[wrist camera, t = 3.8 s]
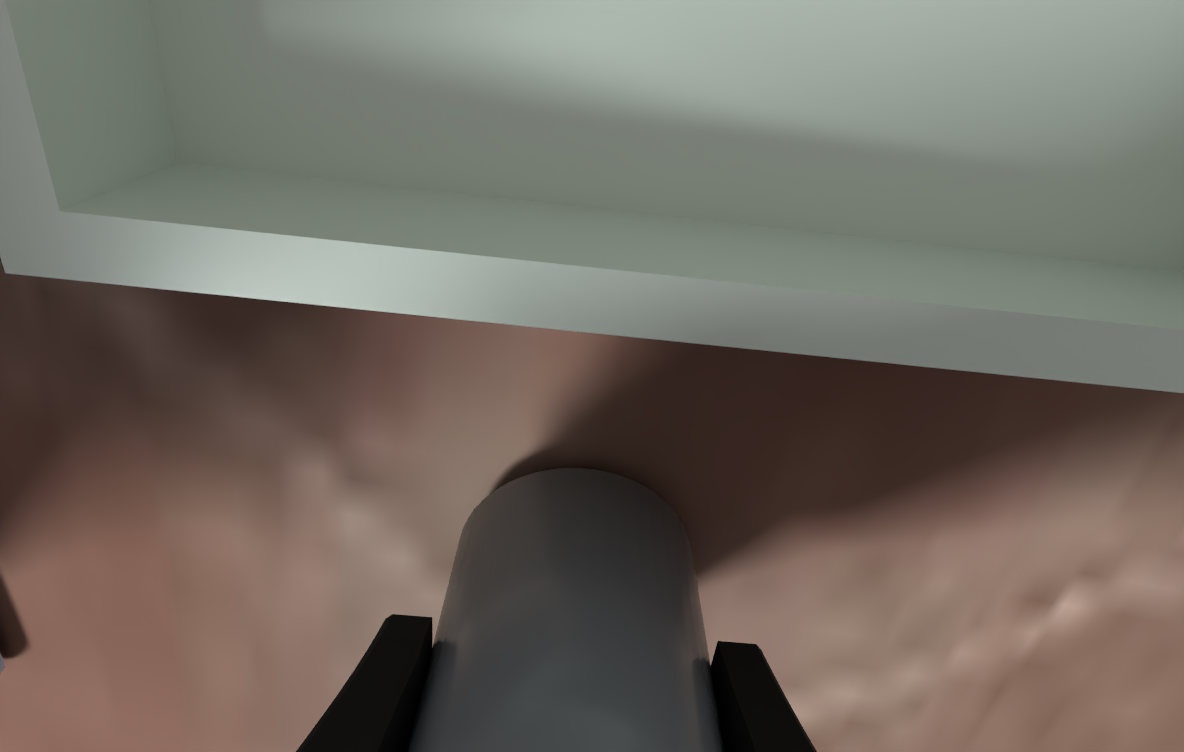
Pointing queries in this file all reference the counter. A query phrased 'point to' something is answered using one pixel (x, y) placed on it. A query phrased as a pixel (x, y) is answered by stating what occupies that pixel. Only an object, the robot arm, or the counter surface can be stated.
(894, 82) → the tray
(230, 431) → the counter surface
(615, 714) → the cylinder
